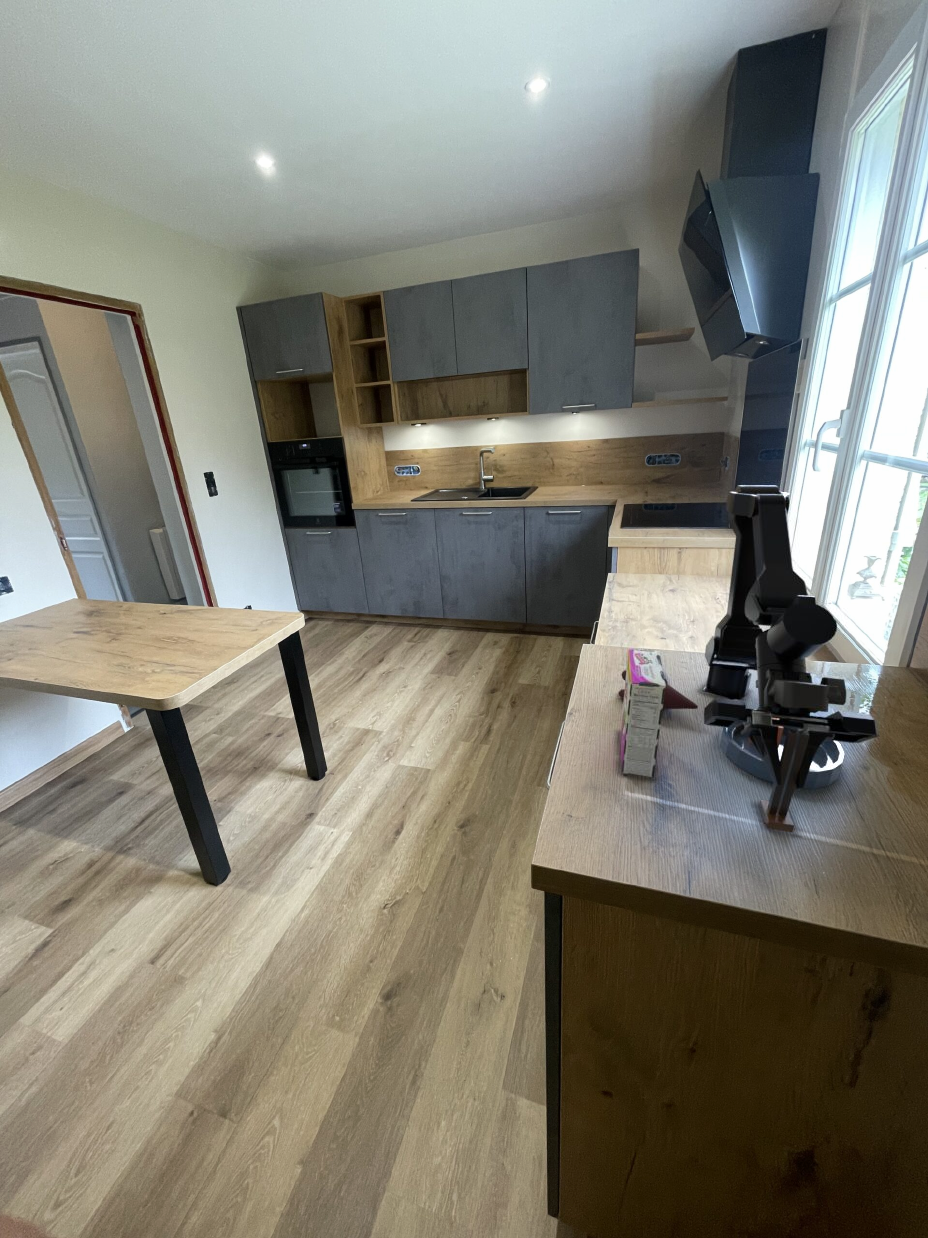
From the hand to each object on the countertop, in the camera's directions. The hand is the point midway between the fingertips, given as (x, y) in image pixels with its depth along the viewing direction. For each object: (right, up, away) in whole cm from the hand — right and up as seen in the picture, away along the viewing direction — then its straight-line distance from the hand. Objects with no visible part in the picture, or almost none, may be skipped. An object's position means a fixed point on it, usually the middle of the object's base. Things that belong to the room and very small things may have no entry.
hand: (788, 787), depth 61 cm
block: (+8, +1, +19) cm, 21 cm away
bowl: (+8, 0, +16) cm, 18 cm away
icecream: (-6, +4, +29) cm, 30 cm away
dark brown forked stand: (+1, -6, +4) cm, 7 cm away
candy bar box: (-14, -1, +17) cm, 22 cm away
